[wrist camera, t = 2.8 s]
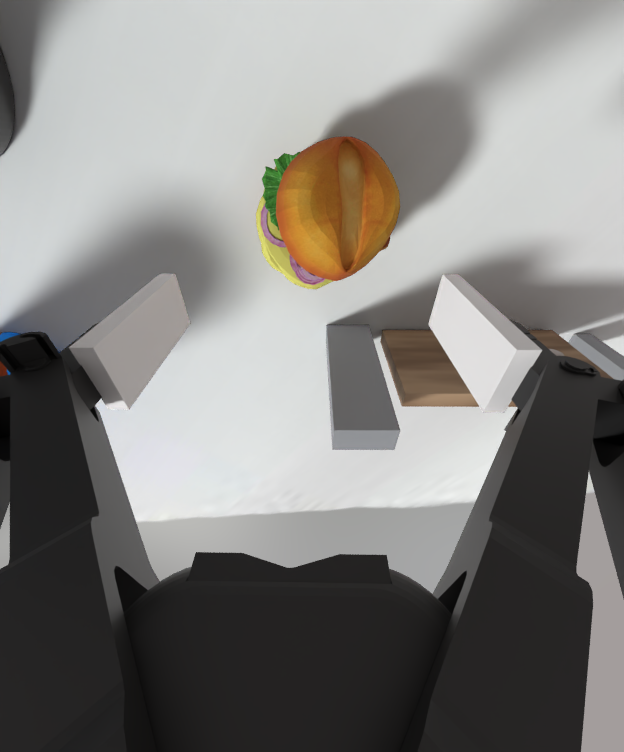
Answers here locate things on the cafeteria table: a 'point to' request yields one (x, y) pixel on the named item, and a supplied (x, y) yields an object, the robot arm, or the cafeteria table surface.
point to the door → (444, 367)
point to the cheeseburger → (326, 211)
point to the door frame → (370, 393)
